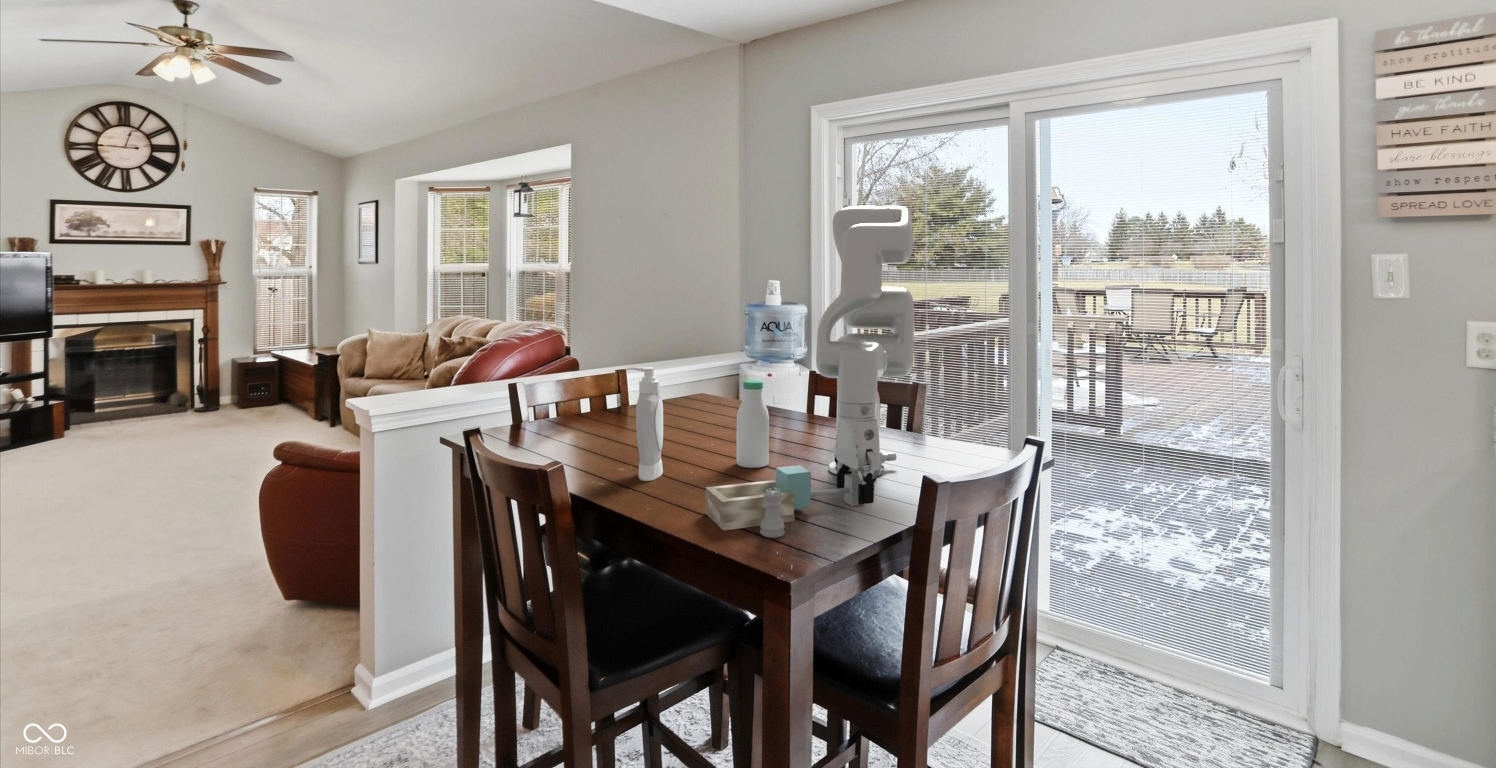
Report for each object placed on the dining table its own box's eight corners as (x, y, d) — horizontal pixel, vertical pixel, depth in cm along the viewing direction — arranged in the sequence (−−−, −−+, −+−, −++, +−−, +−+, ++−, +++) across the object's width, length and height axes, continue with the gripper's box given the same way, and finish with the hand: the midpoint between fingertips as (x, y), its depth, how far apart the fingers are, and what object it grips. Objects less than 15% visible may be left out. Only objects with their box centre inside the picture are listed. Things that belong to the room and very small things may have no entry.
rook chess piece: (768, 527, 137) (769, 484, 136) (789, 532, 134) (790, 489, 133) (754, 535, 133) (755, 491, 132) (776, 540, 131) (776, 495, 130)
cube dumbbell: (854, 498, 154) (855, 459, 152) (867, 505, 149) (868, 465, 148) (775, 508, 147) (775, 467, 146) (786, 516, 143) (786, 474, 141)
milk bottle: (769, 468, 176) (769, 383, 173) (735, 468, 176) (736, 383, 173) (768, 460, 184) (769, 378, 181) (736, 460, 184) (737, 378, 181)
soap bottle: (635, 466, 177) (633, 363, 174) (668, 468, 177) (667, 363, 173) (620, 482, 165) (618, 371, 161) (655, 483, 164) (654, 371, 160)
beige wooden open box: (772, 505, 150) (772, 479, 149) (794, 520, 141) (794, 493, 140) (705, 513, 145) (705, 487, 144) (723, 530, 135) (723, 502, 135)
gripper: (898, 417, 141) (894, 507, 144) (851, 401, 157) (849, 483, 160) (862, 420, 139) (860, 512, 141) (819, 403, 155) (817, 487, 157)
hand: (854, 496), depth 151 cm, fingers open, 8 cm apart
